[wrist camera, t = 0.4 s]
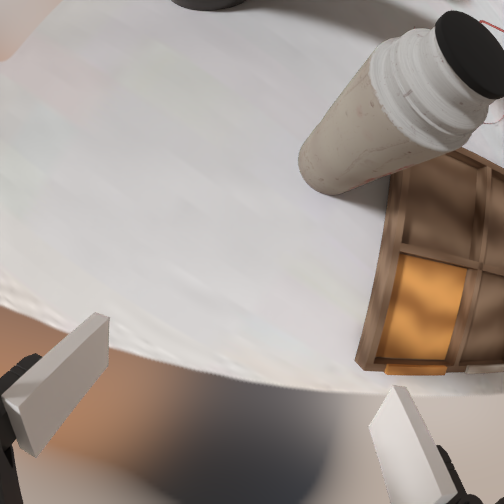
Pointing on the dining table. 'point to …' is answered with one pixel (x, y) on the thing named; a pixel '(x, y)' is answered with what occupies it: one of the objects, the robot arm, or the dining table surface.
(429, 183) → the wooden compartment tray
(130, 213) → the dining table surface
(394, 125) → the thermos bottle
